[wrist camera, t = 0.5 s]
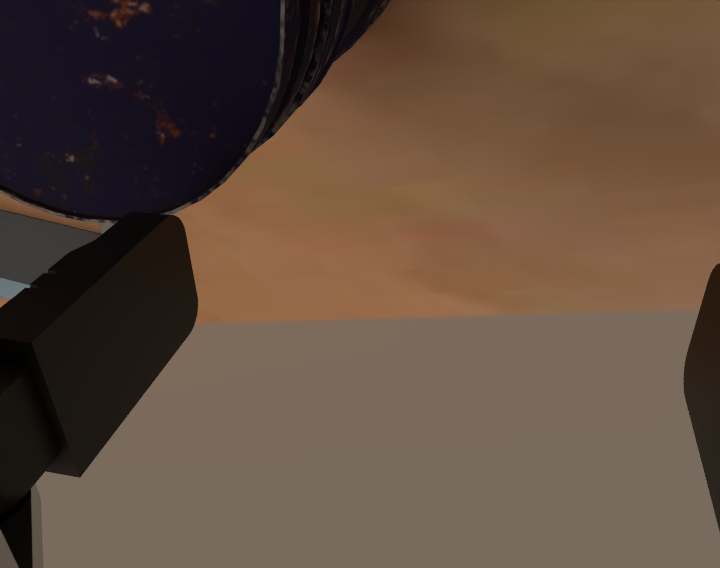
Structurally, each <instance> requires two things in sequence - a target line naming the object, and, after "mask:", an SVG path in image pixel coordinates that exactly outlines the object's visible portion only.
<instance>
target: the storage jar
mask: <svg viewBox="0 0 720 568" xmlns="http://www.w3.org/2000/svg"><path fill="white" fill-rule="evenodd" d="M389 1H390V0H0V193H2V194H4V195H7V196H9V197H11V198H13V199H15V200H17V201H19V202H21V203H23V204H25V205H28V206H31V207H34V208H37V209H39V210H42V211H45V212H48V213H51V214H54V215H57V216H62V217H67V218H71V219H76V220H81V221H85V222H98V223H113V224H115V223H116V222H118V221H119V220H120V219H121V218H122V217H124V216H125V215H126V214H128V213H130V212H142V213H153V214H165V215H170V214H174V213H176V212H178V211H180V210H182V209H184V208H186V207H188V206H190V205H192V204H194V203H196V202H198V201H201V200H202V199H203V198H205V197H206V196H207V195H209V194H210V193H211V192H212V191H214V190H215V189H216V188H218V187H219V186H220V185H221V184H223V183H224V182H225V181H226V180H227V179H228V178H229V177H230V176H231V175H232V174H233V172H234V171H235V170H236V169H237V168H238V167H239V166H240V165H241V164H242V162H243V161H244V160H245V159H246V158H247V157H248V155H249V154H250V153H252V152H253V151H254V150H256V149H257V148H258V147H259V146H261V145H262V144H263V143H265V142H266V141H267V140H268V139H270V138H271V137H272V136H273V135H274V134H275V133H276V132H277V131H278V130H279V129H280V128H281V126H282V125H283V124H284V123H285V122H286V121H287V120H288V118H289V117H290V116H291V115H292V114H293V113H294V112H295V110H296V109H297V108H298V107H300V106H301V105H302V104H303V103H304V102H305V101H306V99H307V98H308V97H309V96H310V95H311V94H312V93H313V91H314V90H315V89H316V88H317V87H318V86H319V84H320V83H321V82H322V80H323V78H324V77H325V75H326V73H327V72H328V70H329V68H330V67H331V65H332V63H333V62H334V61H335V60H337V59H338V58H339V57H340V56H341V55H343V54H344V53H345V52H346V51H347V50H349V49H350V48H351V47H352V46H353V45H354V44H355V42H356V41H357V40H358V39H359V38H360V37H361V36H362V35H363V34H364V33H365V32H366V31H367V29H368V28H369V27H370V26H371V25H372V24H373V23H374V21H375V20H376V19H377V18H378V17H379V16H380V15H381V13H382V12H383V11H384V9H385V7H386V6H387V4H388V3H389Z"/></svg>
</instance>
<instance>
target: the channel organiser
mask: <svg viewBox="0 0 720 568" xmlns="http://www.w3.org/2000/svg"><path fill="white" fill-rule="evenodd" d="M100 224H101V232H102V234H103V233H104V232H105V231H107V230H108V229H109V228H110V227H111V226H113V225H114V224H113V223H100ZM102 234H98V233H94V232H89V231H85V230H81V229H77V228H73V227H69V226H65V225H60V224H56V223H52V222H48V221H44V220H40V219H35V218H31V217H27V216H23V215H19V214H15V213H11V212H6V211H2V210H0V297H3V298H7V299H12V298H13V297H14V296H16V295H17V294H18V293H19V292H21V291H22V290H23V289H24V288H30V283H32V282H33V281H34V280H35V279H37V278H38V277H39V276H40V275H42V274H43V273H48V269H49V268H50V267H51V266H53V265H54V264H55V263H56V262H58V261H59V260H60V259H61V258H63V257H64V256H65V255H66V254H68V253H69V252H70V251H73V250H75V249H77V248H79V247H81V246H83V245H85V244H88V243H90V242H92V241H94V240H96V239H97V238H98V237H99V236H101V235H102Z"/></svg>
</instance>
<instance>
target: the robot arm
mask: <svg viewBox="0 0 720 568" xmlns="http://www.w3.org/2000/svg"><path fill="white" fill-rule="evenodd" d="M197 310H198V298H197V291H196V286H195V281H194V275H193V270H192V265H191V259H190V254H189V248H188V243H187V238H186V232H185V228H184V225H183V223H182V221H181V220H180V219H179V218H178V217H177V216H175V215H165V214H153V213H142V212H130V213H128V214H126V215H125V216H124V217H122V218H121V219H120V220H119V221H118V222H116V223H115V224H114V225H113V226H111V227H110V228H109V229H108V230H107V231H105V232H104V233H103V234H102V235H101V236H99V237H98V238H97V239H96V240H94V241H92V242H90V243H88V244H85V245H83V246H81V247H79V248H77V249H75V250H73V251H70V252H69V253H68V254H66V255H65V256H64V257H63V258H61V259H60V260H59V261H58V262H56V263H55V264H54V265H53V266H51V267H50V268H49V269H48V273H43V274H42V275H40V276H39V277H38V278H37V279H35V280H34V281H33V282H32V283H30V288H24V289H23V290H22V291H21V292H19V293H18V294H17V295H16V296H14V297H13V298H12V299H11V300H9V301H8V302H7V303H6V304H4V305H3V306H2V307H1V308H0V568H43V545H42V519H41V518H42V517H41V499H40V494H39V492H38V489H37V487H36V484H35V483H36V482H37V480H38V479H39V478H40V477H41V476H42V474H43V473H44V472H45V471H47V472H52V473H58V474H64V475H69V476H74V477H81V476H82V474H83V473H84V472H85V470H86V469H87V468H88V466H89V465H90V464H91V462H92V461H93V460H94V459H95V457H96V456H97V455H98V453H99V452H100V451H101V449H102V448H103V447H104V445H105V444H106V443H107V442H108V440H109V439H110V438H111V436H112V435H113V434H114V432H115V431H116V430H117V428H118V427H119V426H120V425H121V423H122V422H123V420H124V419H125V418H126V417H127V415H128V414H129V413H130V411H131V410H132V409H133V408H134V406H135V405H136V404H137V402H138V401H139V400H140V398H141V397H142V396H143V394H144V393H145V392H146V390H147V389H148V388H149V387H150V385H151V384H152V382H153V381H154V380H155V378H156V377H157V376H158V375H159V373H160V372H161V371H162V369H163V368H164V367H165V366H166V364H167V363H168V362H169V360H170V359H171V358H172V356H173V355H174V354H175V353H176V351H177V350H178V349H179V347H180V346H181V345H182V343H183V342H184V341H185V339H186V338H187V337H188V335H189V334H190V332H191V331H192V329H193V327H194V324H195V321H196V317H197ZM684 394H685V399H686V403H687V406H688V411H689V415H690V418H691V422H692V426H693V430H694V433H695V437H696V442H697V445H698V449H699V453H700V457H701V461H702V465H703V468H704V473H705V476H706V480H707V484H708V488H709V492H710V496H711V500H712V503H713V507H714V511H715V515H716V519H717V523H718V527H719V531H720V264H717V265H716V266H715V267H714V269H713V270H712V272H711V275H710V277H709V280H708V283H707V287H706V290H705V294H704V297H703V300H702V304H701V307H700V311H699V314H698V318H697V321H696V324H695V328H694V331H693V335H692V338H691V341H690V345H689V348H688V352H687V356H686V361H685V367H684Z"/></svg>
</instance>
